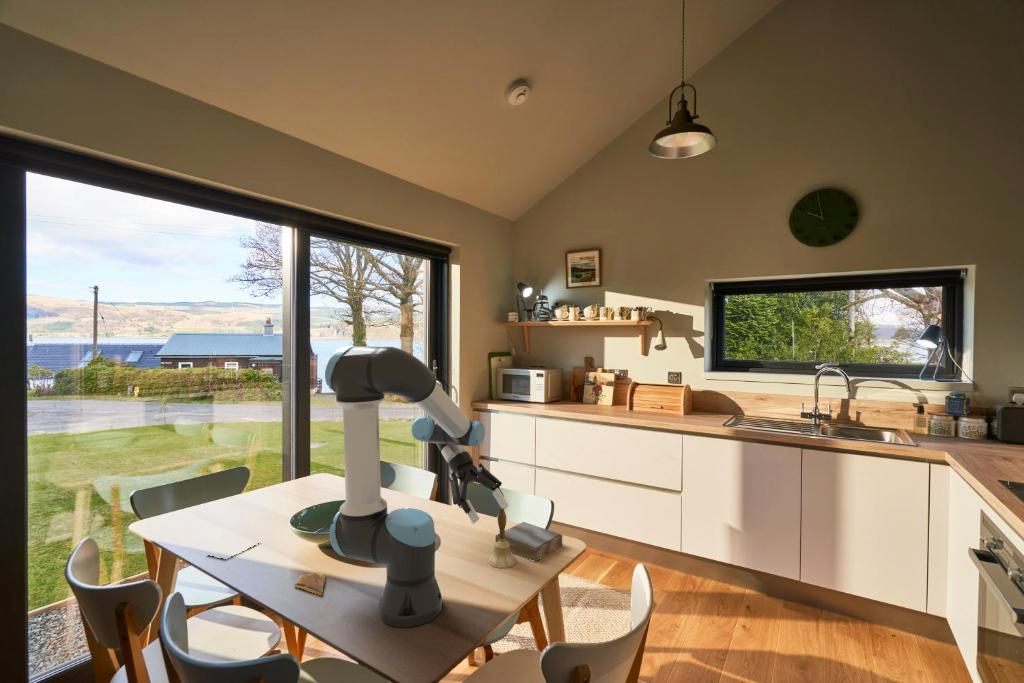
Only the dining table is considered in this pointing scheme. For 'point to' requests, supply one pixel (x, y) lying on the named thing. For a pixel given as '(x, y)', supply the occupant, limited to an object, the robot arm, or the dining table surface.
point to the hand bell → (502, 546)
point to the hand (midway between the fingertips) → (491, 514)
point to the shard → (311, 582)
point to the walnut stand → (531, 541)
